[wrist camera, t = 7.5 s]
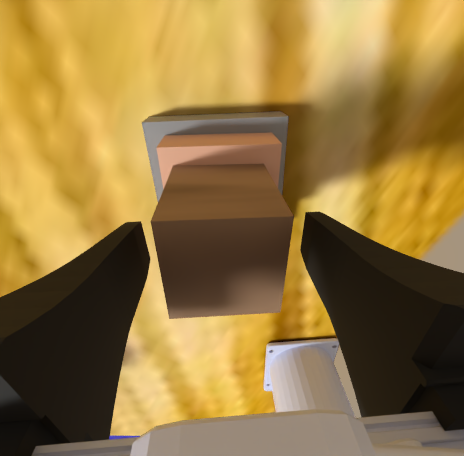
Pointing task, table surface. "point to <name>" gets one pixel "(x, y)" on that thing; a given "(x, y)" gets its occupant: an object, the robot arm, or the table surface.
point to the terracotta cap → (220, 151)
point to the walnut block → (222, 240)
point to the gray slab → (212, 132)
